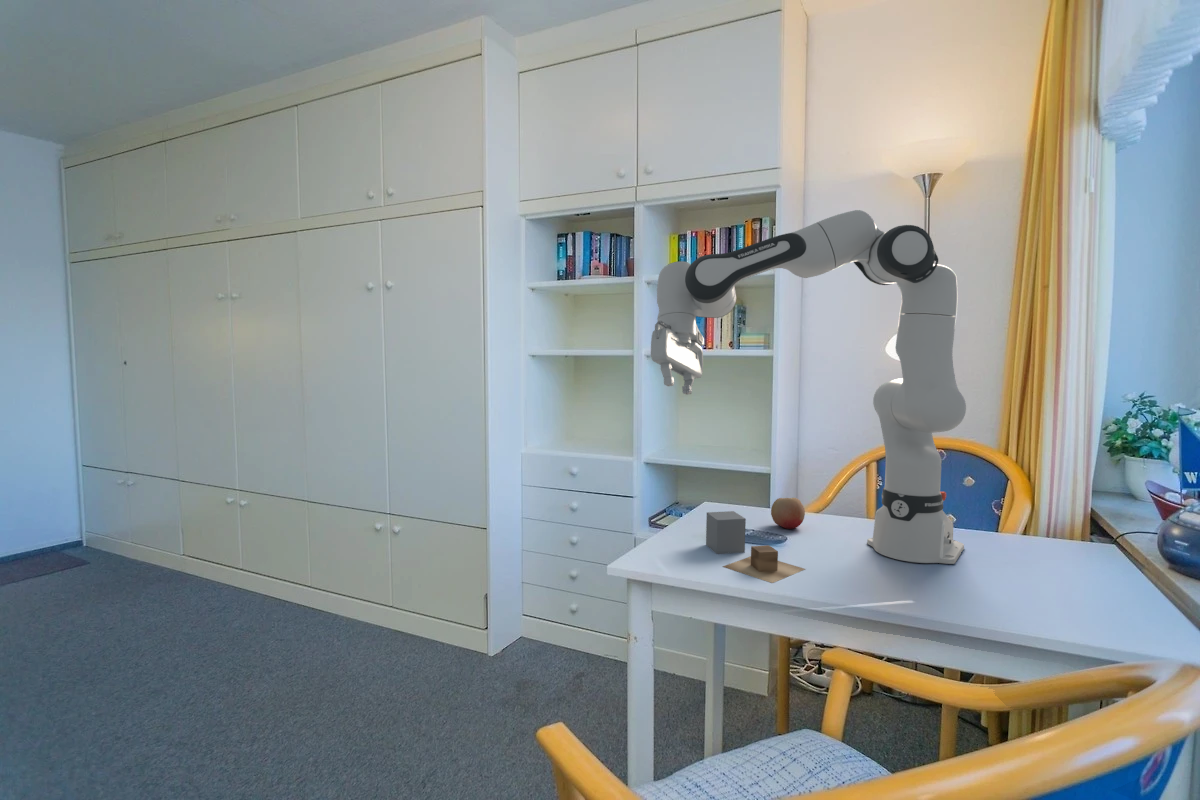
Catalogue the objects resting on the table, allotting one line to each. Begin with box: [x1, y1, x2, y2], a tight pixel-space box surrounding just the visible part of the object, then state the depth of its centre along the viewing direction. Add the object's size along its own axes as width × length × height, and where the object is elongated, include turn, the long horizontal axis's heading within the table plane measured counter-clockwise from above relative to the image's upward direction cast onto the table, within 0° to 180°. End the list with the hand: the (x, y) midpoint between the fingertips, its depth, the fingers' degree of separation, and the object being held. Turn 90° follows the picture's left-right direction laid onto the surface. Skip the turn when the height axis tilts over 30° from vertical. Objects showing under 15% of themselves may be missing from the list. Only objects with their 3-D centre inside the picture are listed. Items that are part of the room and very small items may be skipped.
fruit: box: [770, 497, 806, 530], centre depth 159 cm, size 8×8×8 cm
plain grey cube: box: [705, 510, 747, 555], centre depth 141 cm, size 7×7×8 cm
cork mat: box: [722, 555, 806, 584], centre depth 129 cm, size 12×12×1 cm
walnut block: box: [750, 544, 779, 572], centre depth 128 cm, size 4×4×4 cm
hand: (678, 389), depth 140 cm, fingers open, 8 cm apart
